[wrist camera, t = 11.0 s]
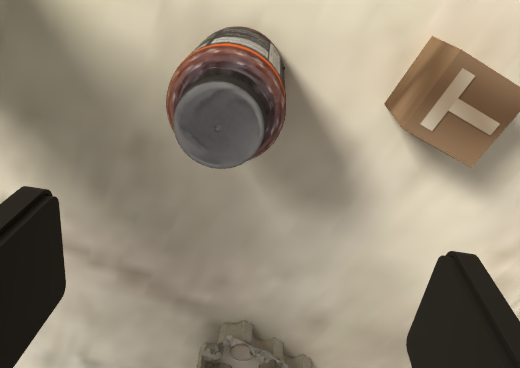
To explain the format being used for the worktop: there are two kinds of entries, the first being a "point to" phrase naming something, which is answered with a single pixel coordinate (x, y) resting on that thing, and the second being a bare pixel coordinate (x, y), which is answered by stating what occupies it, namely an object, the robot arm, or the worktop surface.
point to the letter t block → (454, 101)
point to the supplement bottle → (228, 98)
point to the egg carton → (248, 349)
